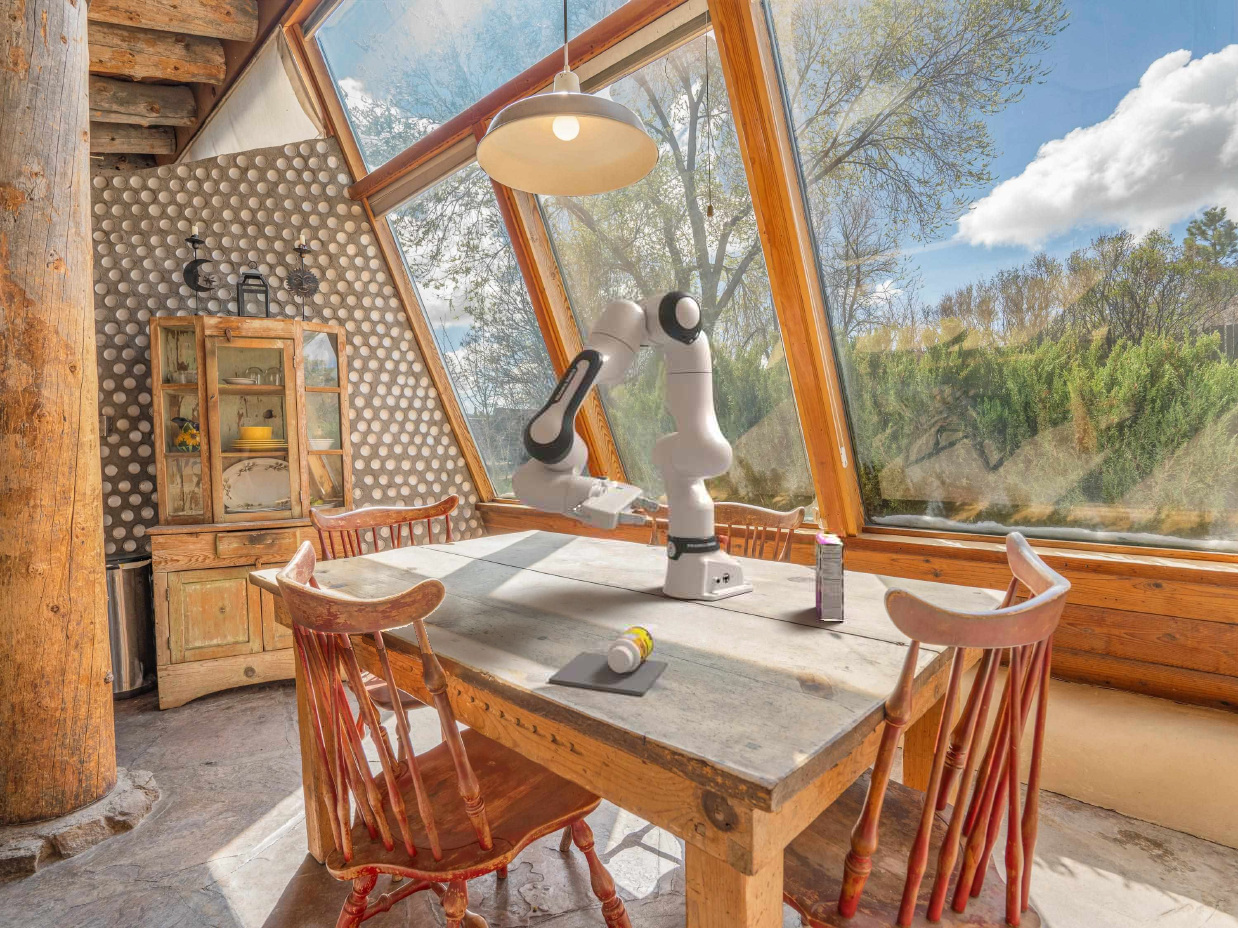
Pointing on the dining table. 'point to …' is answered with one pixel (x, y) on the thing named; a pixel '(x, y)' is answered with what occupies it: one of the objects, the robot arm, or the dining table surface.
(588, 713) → the dining table surface
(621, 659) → the supplement bottle
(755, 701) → the dining table surface
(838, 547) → the candy bar box
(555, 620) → the dining table surface
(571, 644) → the dining table surface
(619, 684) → the mat
